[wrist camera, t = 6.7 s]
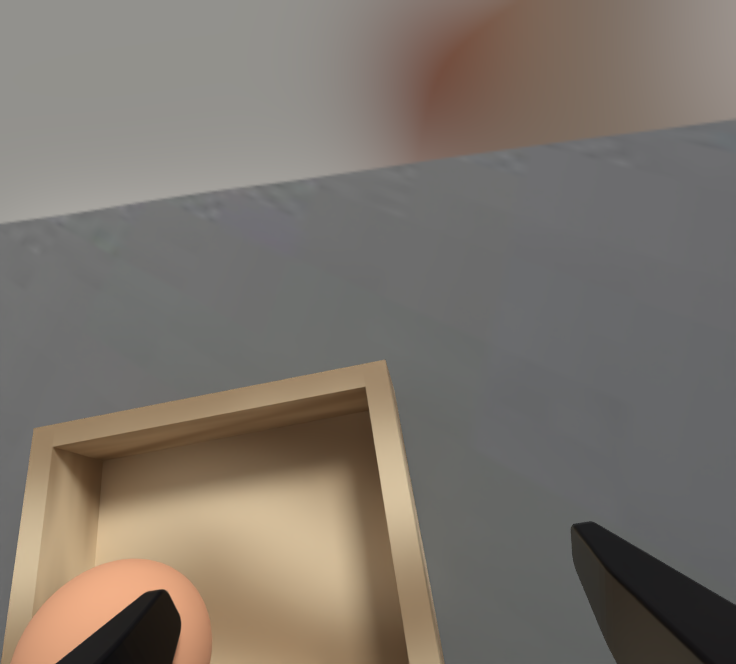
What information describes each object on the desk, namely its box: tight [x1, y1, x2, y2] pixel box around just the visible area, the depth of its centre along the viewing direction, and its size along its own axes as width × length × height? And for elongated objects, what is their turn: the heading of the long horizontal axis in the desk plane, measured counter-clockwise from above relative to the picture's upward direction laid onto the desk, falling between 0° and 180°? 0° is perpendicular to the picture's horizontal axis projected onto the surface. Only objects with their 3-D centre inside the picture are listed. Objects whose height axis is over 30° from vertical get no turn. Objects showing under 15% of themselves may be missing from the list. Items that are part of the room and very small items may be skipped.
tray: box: [1, 360, 445, 664], centre depth 15 cm, size 16×13×3 cm
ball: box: [10, 559, 212, 664], centre depth 11 cm, size 4×4×4 cm
